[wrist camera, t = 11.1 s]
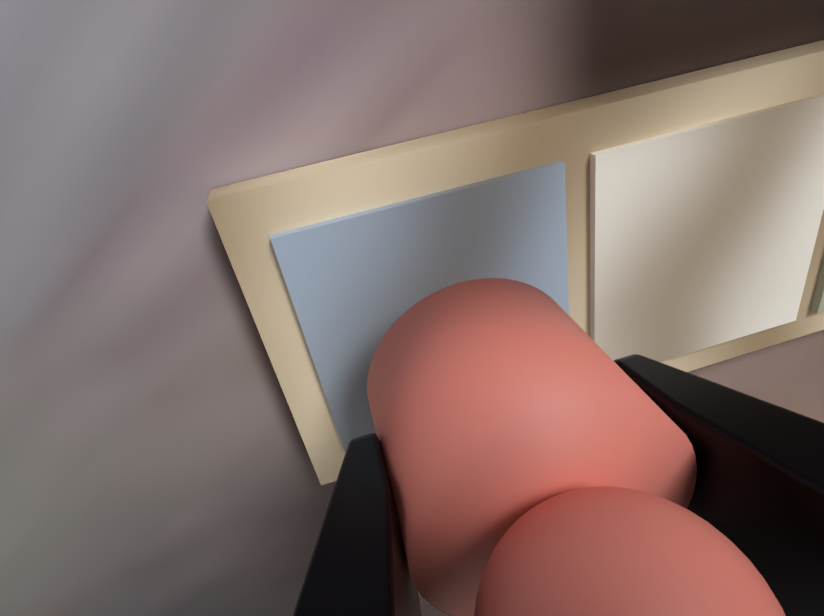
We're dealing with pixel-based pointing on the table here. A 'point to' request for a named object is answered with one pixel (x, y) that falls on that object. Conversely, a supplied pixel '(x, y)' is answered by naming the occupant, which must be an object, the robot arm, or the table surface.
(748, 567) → the pawn
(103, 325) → the table surface
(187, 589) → the table surface
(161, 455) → the table surface
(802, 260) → the board
